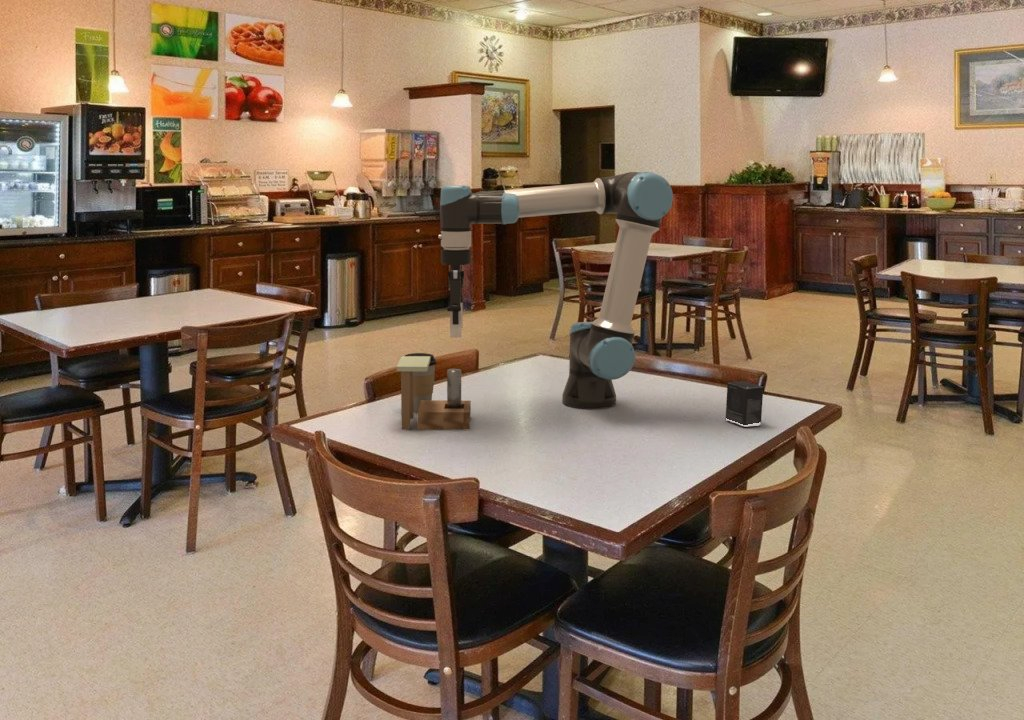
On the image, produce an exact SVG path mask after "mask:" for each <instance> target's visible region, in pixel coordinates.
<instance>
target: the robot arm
mask: <svg viewBox="0 0 1024 720" xmlns="http://www.w3.org/2000/svg"><path fill="white" fill-rule="evenodd" d="M439 201H440V203H439V208H440V209H439V210H440V211H439V212H440V215H439V217H440V233H441V234H438V237H437V238H438V239H441V240H440V247H442V249H441V250H440V263H441V265H444V266H445V265H446V266H450V269H451V270H448V273H447V280H448V288H449V291H450V294H449V296H450V297H449V298H450V299H449V302H450V304H449V307H447V312H449V335H450V336H449V337H450V338H462V329H463V327H464V326H463V325H464V324H463V323H464V322H463V321H464V320H463V317H464V315H463V307H464V306H463V305H464V303H466V297H463V287H464V286H463V285H464V279H465V271H464V270H462V269H463V266H468V265H470V264H471V263H472V250H471V249H470V248H471V247H472V225H479V224H480V225H481V224H486V225H494V224H497V225H500V224H501V225H507V224H515V223H516V222H517V221H518V220H519V218H530V217H541V216H553V215H562V214H575V213H587V212H596V213H597V214H598V215H603V214H605V215H609V214H610V215H611V214H612V215H613V214H614V215H616V216H615V222H616V224H617V225H618V234H617V238H616V242H615V246H614V250H613V254H612V260H611V264H610V268H609V273H608V276H607V280H606V285H605V290H604V295H603V299H602V303H601V305H600V311H599V315H598V318H596V319H595V320H593V321H582V322H580V321H579V322H573V323H572V324H571V325H570V329H569V330H570V331H569V334H568V335H569V365H568V366H569V367H568V368H569V369H568V370H569V371H568V378H567V381H566V384H565V386H564V389H563V392H562V397H561V398H562V399H561V401H562V404H564V405H565V406H568V407H571V408H576V409H583V410H585V409H586V410H600V409H609V408H611V407H614V406H616V404H617V393H616V390H615V387H614V384H613V380H619V379H620V378H622V377H624V376H626V375H627V374H628V373H629V372H630V371H631V370H632V369H633V367H634V364H635V362H636V352H635V349H634V346H633V342H634V338H635V333H636V331H635V329H634V328H633V327H632V320H633V316H634V313H635V308H636V304H637V300H638V296H639V291H640V287H641V282H642V279H643V275H644V271H645V270H644V269H645V266H646V262H647V256H648V253H649V250H650V244H651V240H652V236H653V235H654V234H655V233H657V232H658V231H660V228H661V224H662V220H663V217H665V216H666V215H667V214H668V212H670V210H671V208H672V205H673V202H674V193H673V189H672V187H671V185H670V183H669V181H668V180H667V179H666V178H665V177H663V176H662V175H660V174H658V173H654V172H650V171H638V172H636V171H630V172H625V173H621V174H616V175H612V176H606V177H597V178H596V179H595V180H594V181H593V182H582V183H581V182H580V183H572V184H569V183H568V184H561V185H560V184H559V185H550V186H549V185H547V186H535V187H525V188H513V189H504V190H492V191H486V190H480V191H478V192H474V193H473V191H472V189H471V186H470V185H462V184H461V185H460V184H459V185H458V184H457V185H456V184H454V185H453V184H449V185H447V184H446V185H443V186H442V187H441V189H440V199H439Z"/></svg>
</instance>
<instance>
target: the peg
mask: <svg viewBox="0 0 1024 720" xmlns="http://www.w3.org/2000/svg"><path fill="white" fill-rule="evenodd" d="M446 372H447V373H446V386H447V387H446V393H447V394H446V396H447V398H446V399H447V409H461V401H462V369H460V368H449V369H447V370H446Z"/></svg>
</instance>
